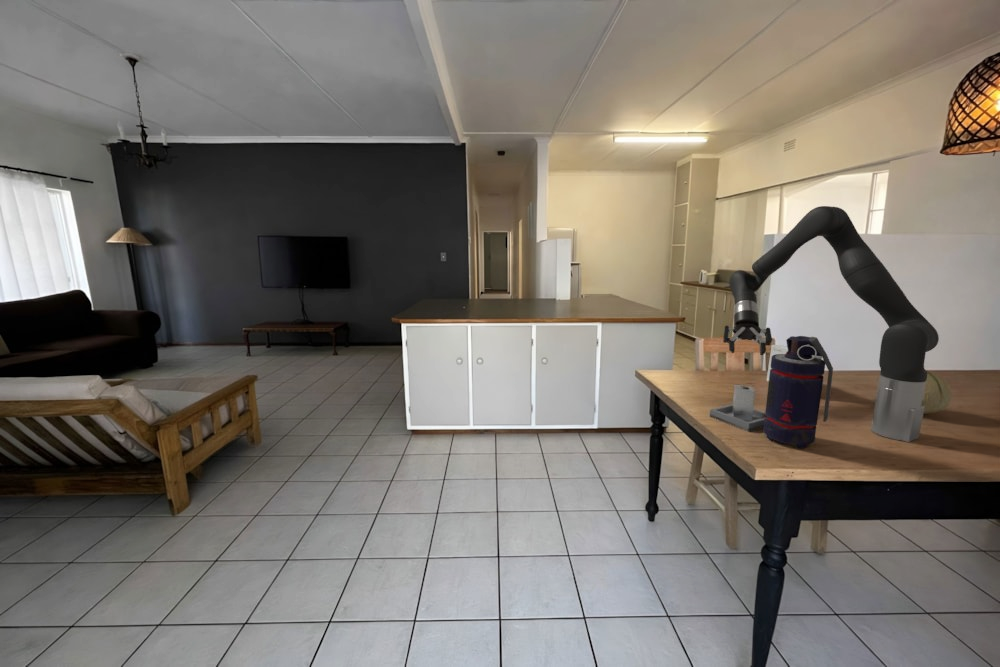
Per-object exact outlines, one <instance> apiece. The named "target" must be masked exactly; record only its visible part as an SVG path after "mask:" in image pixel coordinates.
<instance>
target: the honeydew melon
mask: <svg viewBox="0 0 1000 667" xmlns="http://www.w3.org/2000/svg"><path fill="white" fill-rule="evenodd" d="M926 371H927V380H926V385H925V390H924V395H923V400H922V405H921V406H924V413H923V415H925V414H931V413H932V414H933V413H937V412H941V411H943V410H945V409H946V408H947V407H948V406H949V405H950V403H951V401H952V398H953V392H952V389H951V386H950V385H949V383H948V381H947V380H946V379H944V378H943V377H942V376H941V375H940V374H937V373H935V372H933V371H929V370H926Z"/></svg>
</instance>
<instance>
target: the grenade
mask: <svg viewBox="0 0 1000 667" xmlns="http://www.w3.org/2000/svg"><path fill="white" fill-rule="evenodd" d="M785 341H786V346H787V348H788V351H787V353H786V354H776V355H773V356H772V359H771V368H772V369H771V370H770V376H769V382H768V384H767V394H766V401H765V402H766V404H765V415H766V416H765V421H764V427H763V433H764V434H765V437H766V439H767V438H768V439H769V440H768V439H767V440H768V441H770V440H771V441H770V442H775V441H776V442H779V443H782V444H785V445H792V446H795V448H796V447H797V448H796V449H805V448H807V445H812V444H814V443H815V439H816V433H817V432H816V431H817V425H818V418H819V412H820V404H821V398H822V390H823V385H824V384H823V383H824V374H825V368H827V371H828V373H827V374H828V375H827V384H826V392H825V399H824V400H825V401H824V411H823V420H822V421H823V422H824V423H826V422H827V420H828V418H829V410H830V400H831V391H832V382H833V373H834V372H833V371H834V368H833V365H832V364H831V361H830V359H829V356H828V354H827V353H826V351H825V349H824V347H823V346H822V344H821V342H820V340H819V339H818V337H816V336H805V335H804V336H803V335H798V336H789V337H788V338H787V339H786V340H785ZM812 355H813V356H814V357H812ZM816 356H822V359H819V358H815V357H816Z"/></svg>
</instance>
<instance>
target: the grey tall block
mask: <svg viewBox="0 0 1000 667" xmlns="http://www.w3.org/2000/svg"><path fill="white" fill-rule="evenodd" d="M733 388H734V389H733V390H734V391H733V400H732V404H733V408H732V416H733V417H736V418H739V419H741V420H744V421H752V416H753V409H754V407H755V406H754V405H755V396H756V391H755V388H754V386H750V385H741V384H740V385H739V384H734V387H733Z"/></svg>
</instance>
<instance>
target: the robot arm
mask: <svg viewBox="0 0 1000 667" xmlns="http://www.w3.org/2000/svg"><path fill="white" fill-rule="evenodd" d="M818 237H823V239H825V240H826V242H828V244H829V246H830V247H832V248H833V250H834V252H835V254H836V257H837V262H838V266H839V271H840V274H841V275H842V277H843V280H844V281H845V282H846V283H847V285H848V287H849V288H850V289H851V291H852V292H854V294H855V295H856V296H857V297H859V298H860V299H861V300H862V301H863V302H865V303H866V305H868V306H870V307H871V308H873V309H874V310H875V311H876V312H877V313H878V314H879V315H880V316H881V318H882V319H883V320H884V322H885V323H886V325H887V329H886V330H885V331H884V333H883V335H882V338H881V343H880V353H879V360H878V363H879V364H878V366H879V367H880V368H879V369H880V374H879V379H878V385H877V392H876V397H875V403H874V408H873V409H874V410H873V414H872V415H873V416H872V420H871V426H870V427H871V428H870V429H871V431H872V433H875V434H876V435H879V436H881V437H885V438H888V439H892V440H899V441H903V442H907V443H910V442H912V441H915V440H918V439H919V438H920V435H921V434H920V433H921V428H922V422H923V418H924V414H923V413H924V406H921V405H922V400H923V395H924V390H925V385H926V380H927V371H928V370H927V369H925V359H926V354H927V352H929V351H932V350H933V349H935V348H936V346H937V345H938V343H939V341H940V340H939V339H940V338H939V333H938V331H937V330H936V328H935V327H934V326H933V324H932V323H930V322H929V320H928V319H926V317H924V316H923V315H922V313H921V312H920V311H919V310H918V309H916V307H915V306H914V305H913V304H912V303H911V301H910V300H909V299H908V297H907V296H906V294H905V293H904V291H903V290H902V289H901V288H900V286H899V284H898V282H897V281H896V280H895V279H894V278H893V276H892V275H891V273H890V272H889V270H888V269H887V268H886V267H885V265H884V264H883V263H882V261H881V260H880V259H879V258H878V257H877V255H876V254H875V253H874V252H873V250H872V249H871V248H870V246H868V244H867V243H866V242H865V241H864V239H863V238H862V237H861V236H860V234H859V232H858V230H857V228H856V227H855V225H854V223H853V222H852V219H851V217H850V216H849V214H848V213H847V212H846V211H845V210H844V209H843V208H841V207H837V206H828V205H826V206H825V205H822V206H821V205H820V206H816V207H814V208H813V209H811V210H809V211H808V212H807V213H806V214H805V215H804V216H803V217H801V219H800V220H799V221H798V223H796V225H795V226H794V227H793V228H792V229H790V231H789V232H788V233H787V234H786V235H785V236H784V237H783V238H782V239H780V241H779V242H777V243H776V244H775V245H774V246H773V247H772V248H771V249H770V250H768V251H767V252H766V253H764V254H763V255H762V256H761V257H759V258H758V259H757V260H755V262H753V263H752V265H751V270H752V271H753V273H755V274H754V275H753V274H751V273H749V272H747V271H746V270H741V269H738V270H735V271H734V272H733V273H731V275H730V277H729V280H728V284H729V285H728V286H729V288H730V291H731V294H732V296H733V298H734V300H733V301H734V309H733V327H729V325H725V326H724V330H723V343H728V347H729V349H728V351H729V352H731V354H734V353H735V342H737V341H739V340H741V341H742V340H747V341H753V342H755V344H758V345H759V352H760V353H759V355H760V356H763V355H765V353H766V351H767V346H772V342H773V339H772V332H771V331H772V330H771V328H770V327H766V328H760V322H759V320H760V319H759V309H758V304H757V303H758V302H757V300H758V299H757V294H756V292H757V291H758V290H759V289H760V288H761V287H762V285H763V284H764V283H765V282H766V281H767V279H769V277H770V276H771V275H773V274H774V273H775V272H777V271H778V270H779V269H780V268H782V267H783V266H785V265H786V263H788V261H789V260H791V258H792V257H793V255H794V254H795V253H796V252H797V251H798V250H799V249H800V248H801V247H802V246H803V245H805V244H806V243H808V242H810V241H812V240H813V239H815V238H818ZM731 332H732V333H733V335H732V337H729V334H731ZM761 334H762V335H763V336H764V337H765V339H764V338H763V337H762V335H761Z"/></svg>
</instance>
